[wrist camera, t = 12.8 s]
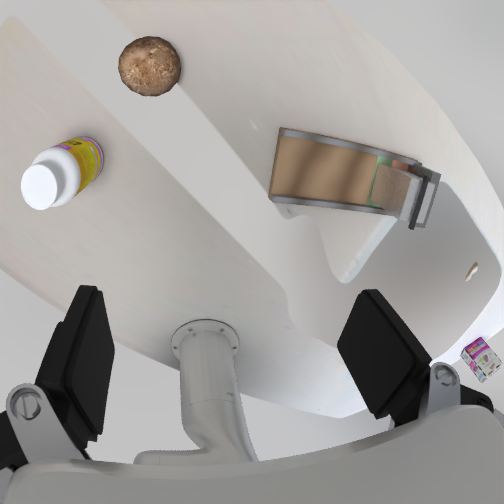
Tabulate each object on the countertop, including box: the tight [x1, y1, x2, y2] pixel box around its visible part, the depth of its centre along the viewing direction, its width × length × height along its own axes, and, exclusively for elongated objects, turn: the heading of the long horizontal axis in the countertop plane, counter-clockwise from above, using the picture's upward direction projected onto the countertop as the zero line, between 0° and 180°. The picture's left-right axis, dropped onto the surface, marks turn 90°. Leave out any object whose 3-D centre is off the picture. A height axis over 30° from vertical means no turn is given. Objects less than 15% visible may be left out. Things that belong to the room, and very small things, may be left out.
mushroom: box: [118, 36, 181, 96], centre depth 27 cm, size 8×8×6 cm
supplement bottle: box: [21, 137, 103, 210], centre depth 27 cm, size 7×7×13 cm
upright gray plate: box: [407, 163, 441, 228], centre depth 39 cm, size 2×9×6 cm, turn 172°
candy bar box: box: [461, 337, 502, 383], centre depth 76 cm, size 11×5×16 cm, turn 102°
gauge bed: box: [268, 127, 422, 216], centre depth 39 cm, size 24×10×2 cm, turn 82°
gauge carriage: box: [370, 163, 435, 230], centre depth 37 cm, size 5×8×9 cm, turn 172°
